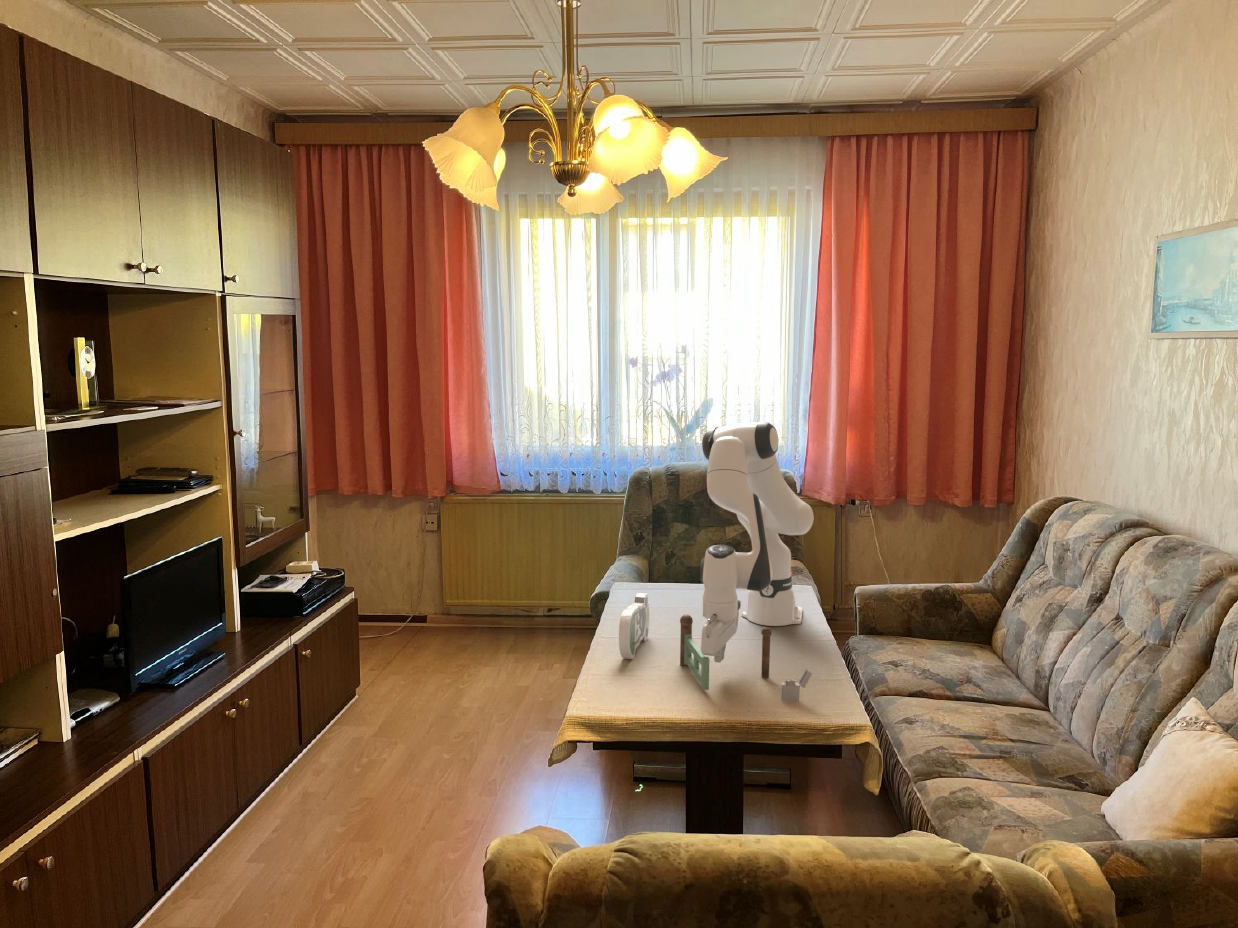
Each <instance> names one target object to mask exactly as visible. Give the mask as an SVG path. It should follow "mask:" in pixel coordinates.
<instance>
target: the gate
mask: <svg viewBox="0 0 1238 928" xmlns="http://www.w3.org/2000/svg"><path fill="white" fill-rule="evenodd" d="M692 655H693V657H692ZM684 664H685V665H688V666H687V667H688V668H689V669H690V671H691V673H693V675H694V677H695V678H696V679H697V681H698V682H699V684H700V689H701V691H708V690H710V658H709V656H706V655H703V654H702V652H701V648H700V647H699V646H698V645H697V643H696V642H695V641H694V640H693V635H691V634H685V643H684ZM700 665H701V666H700ZM700 667H701V668H700Z"/></svg>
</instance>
